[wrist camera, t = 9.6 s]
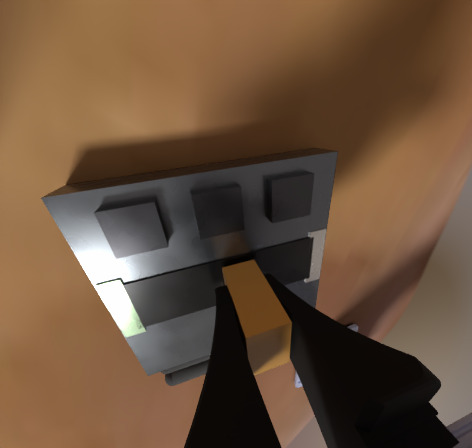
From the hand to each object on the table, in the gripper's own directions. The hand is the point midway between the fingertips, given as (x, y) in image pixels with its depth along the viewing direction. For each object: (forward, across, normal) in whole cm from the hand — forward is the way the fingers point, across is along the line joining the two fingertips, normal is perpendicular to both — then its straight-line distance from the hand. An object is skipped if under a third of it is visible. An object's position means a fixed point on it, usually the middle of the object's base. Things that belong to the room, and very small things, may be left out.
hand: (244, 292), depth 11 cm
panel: (+3, +1, 0) cm, 3 cm away
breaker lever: (+1, 0, 0) cm, 1 cm away
